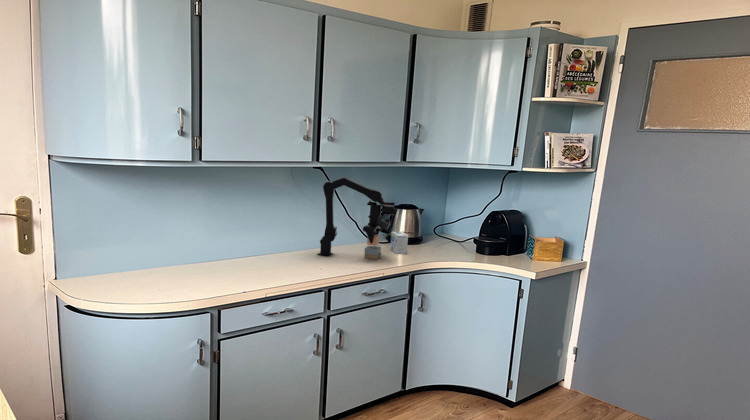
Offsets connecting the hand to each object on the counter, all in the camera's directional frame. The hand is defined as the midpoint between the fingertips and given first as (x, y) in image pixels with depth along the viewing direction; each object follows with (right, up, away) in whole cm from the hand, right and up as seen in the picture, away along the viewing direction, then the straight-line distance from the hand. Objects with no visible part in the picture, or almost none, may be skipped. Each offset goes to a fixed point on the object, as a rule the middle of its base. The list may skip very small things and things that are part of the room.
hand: (373, 242), depth 267 cm
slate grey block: (0, -6, +1) cm, 6 cm away
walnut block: (0, -9, +1) cm, 9 cm away
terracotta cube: (0, -1, 0) cm, 1 cm away
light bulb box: (+14, -7, +19) cm, 25 cm away
